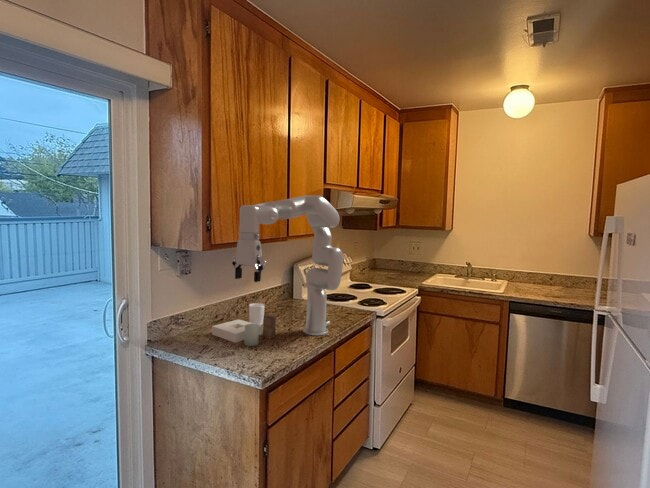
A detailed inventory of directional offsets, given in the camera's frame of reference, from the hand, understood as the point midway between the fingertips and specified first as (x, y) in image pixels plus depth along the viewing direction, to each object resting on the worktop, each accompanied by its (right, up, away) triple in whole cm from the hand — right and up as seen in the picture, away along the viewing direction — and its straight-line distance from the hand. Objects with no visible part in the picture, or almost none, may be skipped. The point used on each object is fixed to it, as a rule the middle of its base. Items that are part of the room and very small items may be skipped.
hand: (247, 279), depth 154 cm
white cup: (-5, -27, +46) cm, 53 cm away
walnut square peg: (+5, -29, +27) cm, 40 cm away
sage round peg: (-2, -29, +16) cm, 34 cm away
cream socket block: (-11, -28, +28) cm, 41 cm away
